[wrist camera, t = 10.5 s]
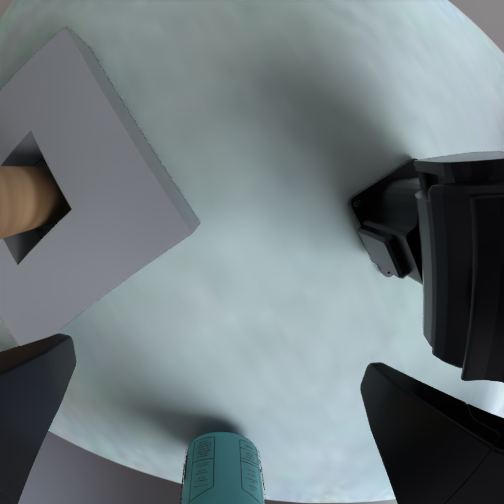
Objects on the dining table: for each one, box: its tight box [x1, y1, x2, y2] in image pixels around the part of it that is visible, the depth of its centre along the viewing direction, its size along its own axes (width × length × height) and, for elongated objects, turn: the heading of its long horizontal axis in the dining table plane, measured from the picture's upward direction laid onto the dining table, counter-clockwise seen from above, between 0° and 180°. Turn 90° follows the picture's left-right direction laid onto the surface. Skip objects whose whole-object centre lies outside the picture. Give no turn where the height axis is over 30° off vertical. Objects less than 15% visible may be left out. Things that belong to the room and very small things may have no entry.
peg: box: [0, 166, 72, 239], centre depth 13 cm, size 4×4×10 cm
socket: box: [0, 26, 200, 346], centre depth 16 cm, size 16×16×4 cm
